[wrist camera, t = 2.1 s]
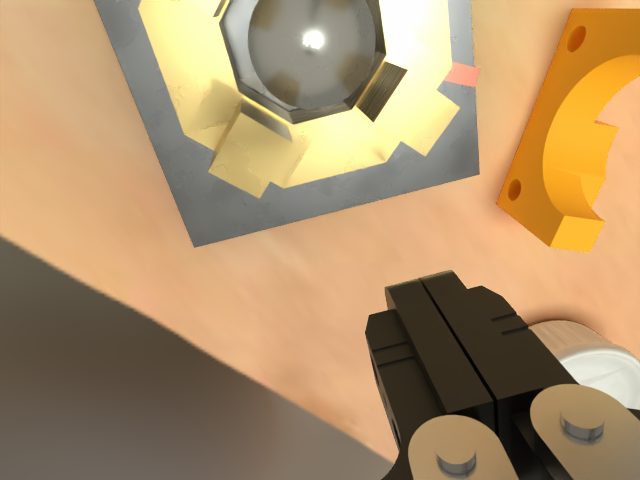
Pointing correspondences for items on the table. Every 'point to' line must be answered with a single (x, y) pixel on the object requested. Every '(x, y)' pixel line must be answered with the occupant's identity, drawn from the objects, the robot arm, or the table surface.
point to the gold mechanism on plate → (293, 109)
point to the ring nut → (305, 124)
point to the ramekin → (593, 359)
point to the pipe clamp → (572, 129)
